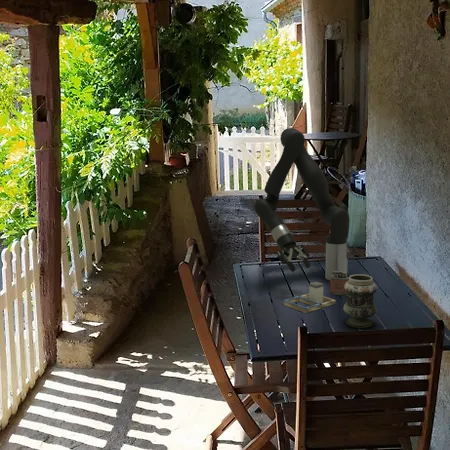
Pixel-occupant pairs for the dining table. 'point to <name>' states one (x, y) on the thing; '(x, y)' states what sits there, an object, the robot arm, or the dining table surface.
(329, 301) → the bay tray
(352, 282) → the apothecary jar
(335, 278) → the lighter
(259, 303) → the dining table surface
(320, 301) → the cream tall block
